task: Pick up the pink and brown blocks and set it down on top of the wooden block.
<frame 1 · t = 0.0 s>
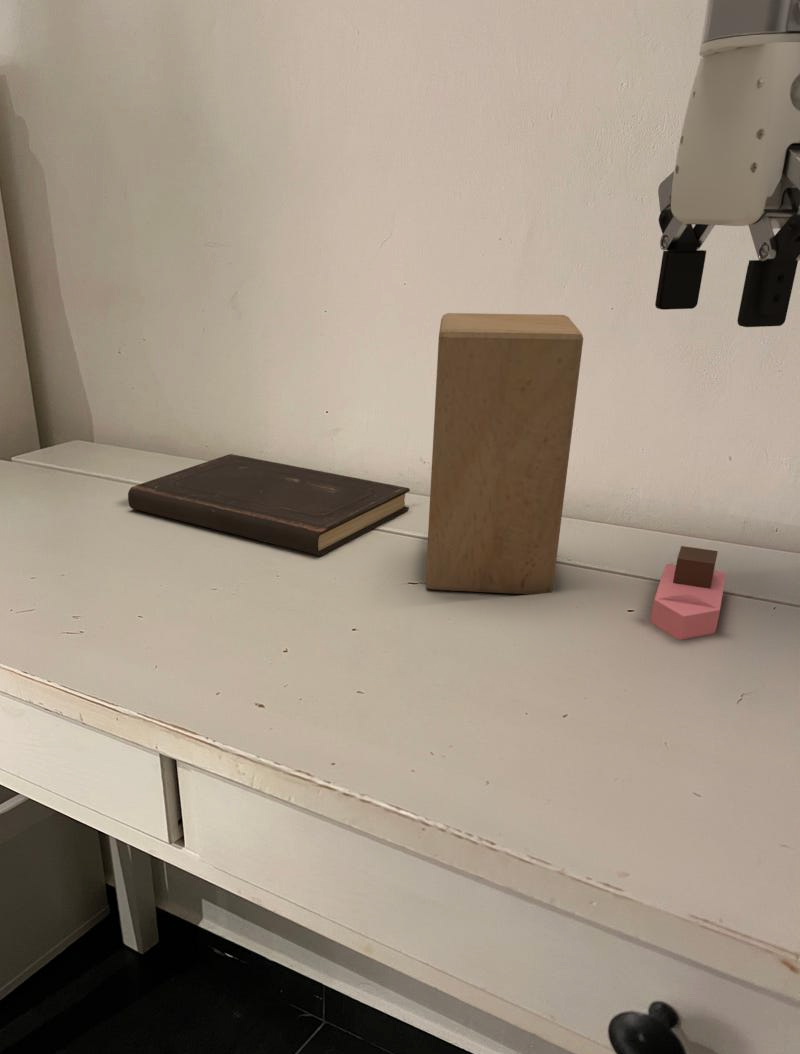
hand: (715, 316, 64), 21 cm above the table, tool pointing down, fingers open, 9 cm apart
pink and brown blocks: (685, 616, 69), on the table
hardcover book: (268, 512, 91), on the table
wooden block: (486, 573, 77), on the table
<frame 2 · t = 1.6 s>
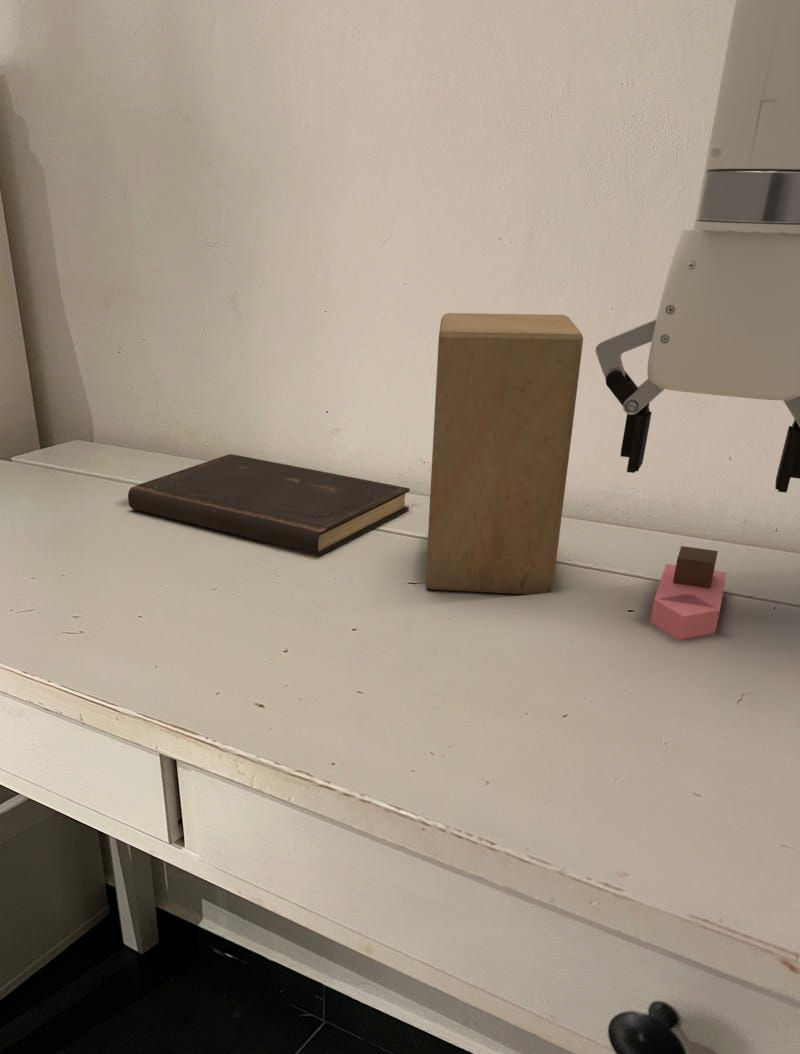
hand: (705, 477, 64), 11 cm above the table, tool pointing down, fingers open, 9 cm apart
nothing on the table moved.
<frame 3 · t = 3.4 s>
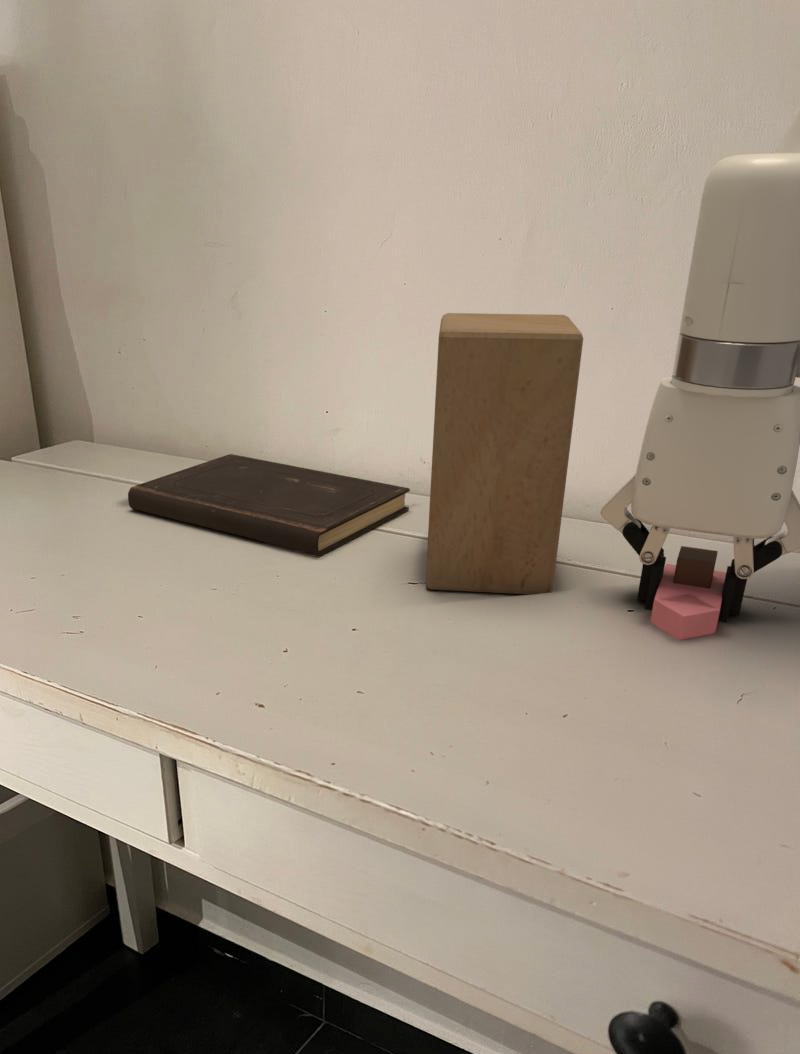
hand: (686, 612, 68), 0 cm above the table, tool pointing down, fingers closed on pink and brown blocks, 4 cm apart
pink and brown blocks: (685, 616, 69), on the table, touching gripper
everything else where it was.
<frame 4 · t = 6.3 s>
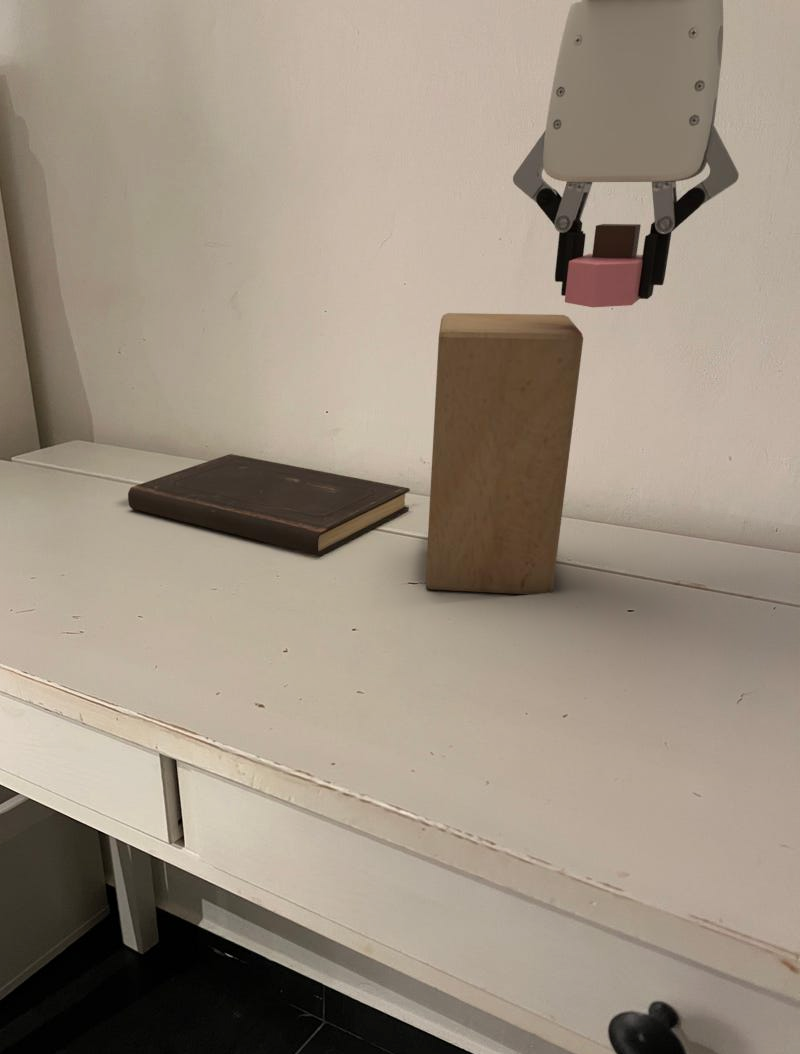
hand: (607, 292, 63), 22 cm above the table, tool pointing down, fingers closed on pink and brown blocks, 4 cm apart
pink and brown blocks: (606, 298, 63), point 22 cm above the table, touching gripper
everything else where it was.
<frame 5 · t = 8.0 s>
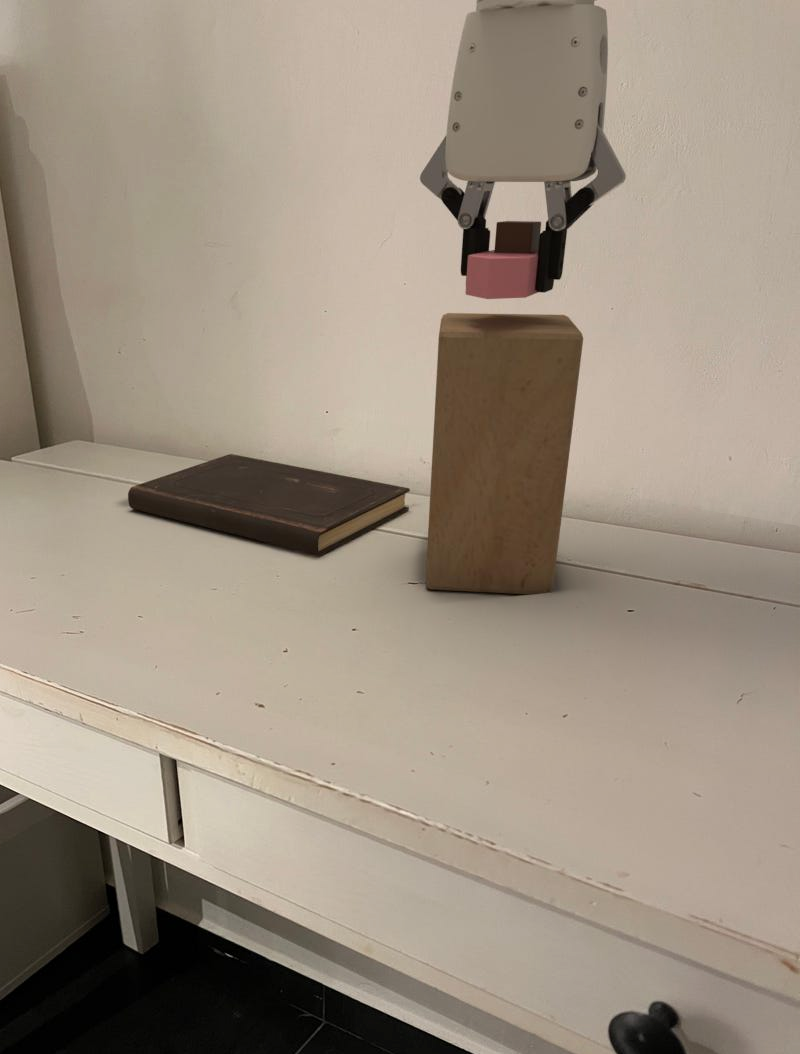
hand: (509, 286, 67), 22 cm above the table, tool pointing down, fingers closed on pink and brown blocks, 4 cm apart
pink and brown blocks: (509, 291, 67), point 22 cm above the table, touching gripper
everything else where it was.
when the fingers open (20 cm above the table, at t = 9.1 s): pink and brown blocks stays where it is, resting on wooden block.
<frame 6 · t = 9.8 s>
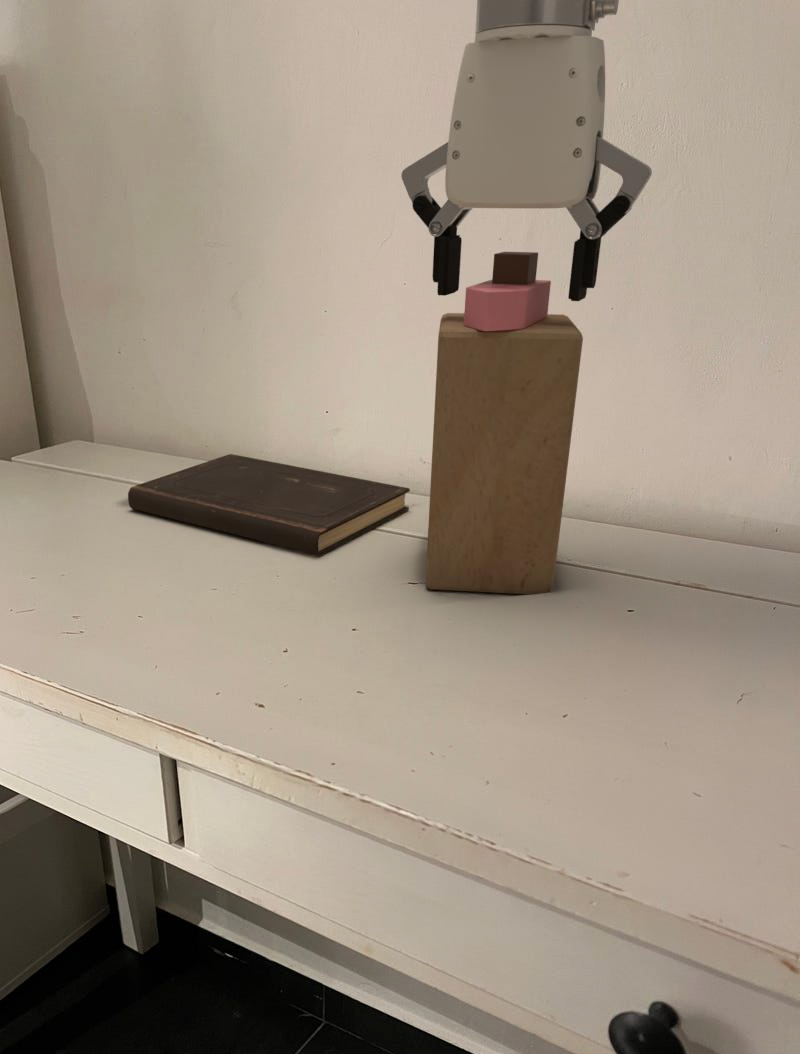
hand: (510, 296, 67), 22 cm above the table, tool pointing down, fingers open, 9 cm apart
pink and brown blocks: (506, 321, 68), point 20 cm above the table, touching wooden block
wooden block: (486, 573, 77), on the table, touching pink and brown blocks
everything else where it was.
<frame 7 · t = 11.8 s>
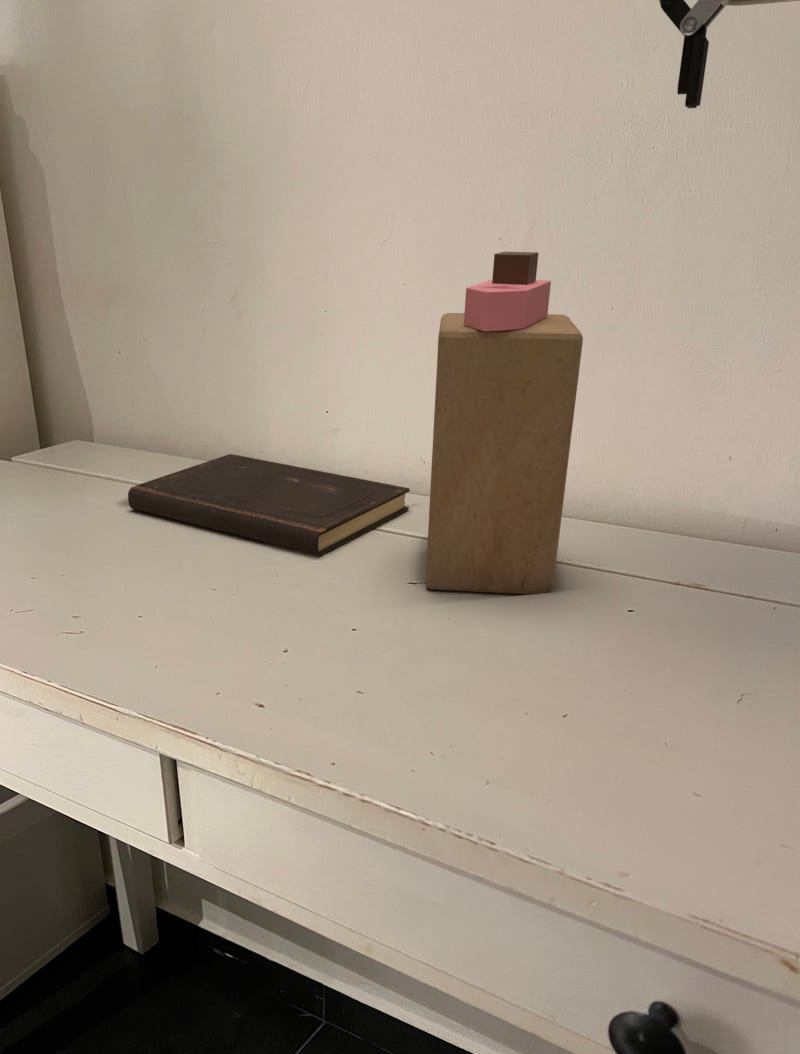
hand: (769, 102, 61), 34 cm above the table, tool pointing down, fingers open, 9 cm apart
nothing on the table moved.
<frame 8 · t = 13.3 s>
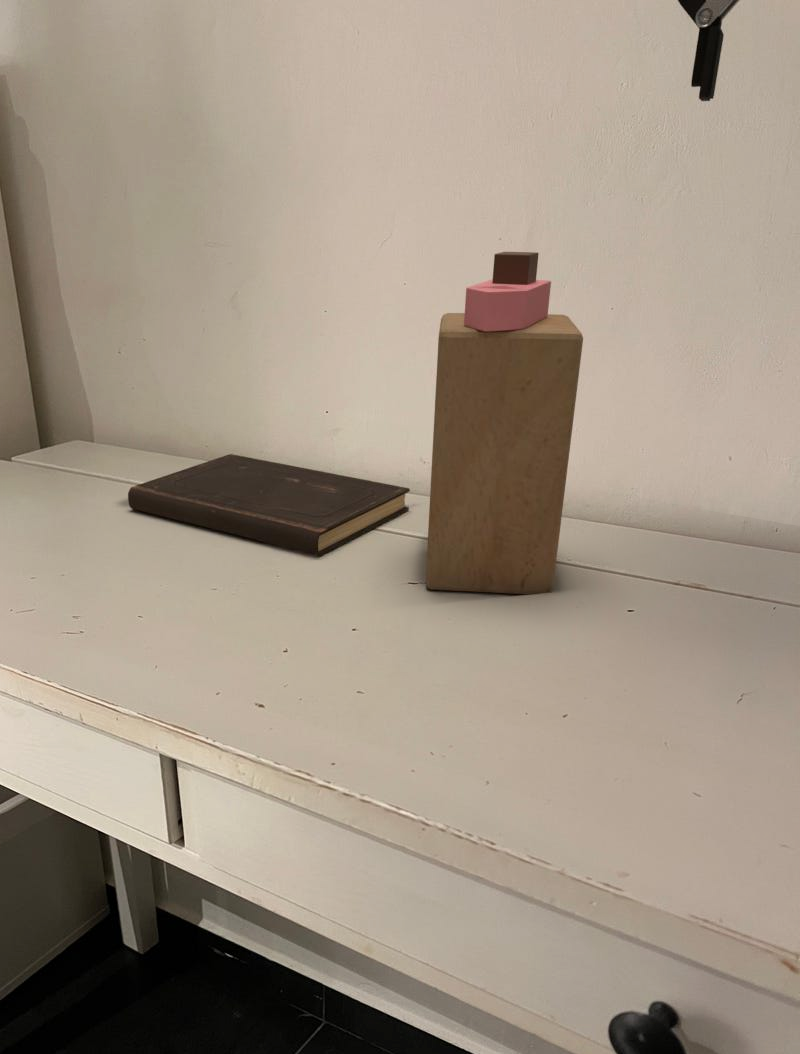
hand: (783, 96, 60), 34 cm above the table, tool pointing down, fingers open, 9 cm apart
nothing on the table moved.
at the end: pink and brown blocks inside the target area on the wooden block (0.1 cm from its centre), point 20.2 cm above the wooden block's base; pink and brown blocks tilted 0°; the gripper is holding nothing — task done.
